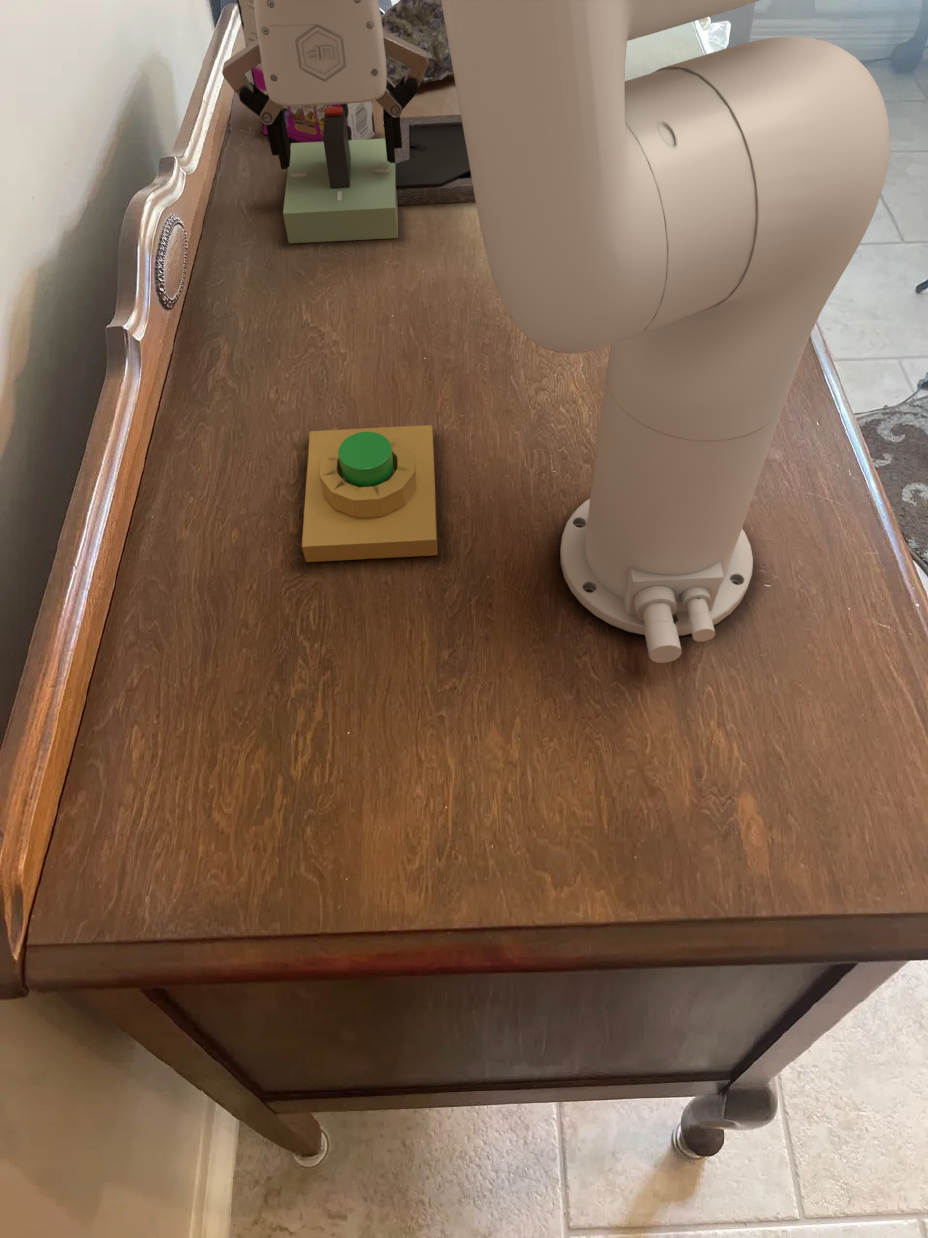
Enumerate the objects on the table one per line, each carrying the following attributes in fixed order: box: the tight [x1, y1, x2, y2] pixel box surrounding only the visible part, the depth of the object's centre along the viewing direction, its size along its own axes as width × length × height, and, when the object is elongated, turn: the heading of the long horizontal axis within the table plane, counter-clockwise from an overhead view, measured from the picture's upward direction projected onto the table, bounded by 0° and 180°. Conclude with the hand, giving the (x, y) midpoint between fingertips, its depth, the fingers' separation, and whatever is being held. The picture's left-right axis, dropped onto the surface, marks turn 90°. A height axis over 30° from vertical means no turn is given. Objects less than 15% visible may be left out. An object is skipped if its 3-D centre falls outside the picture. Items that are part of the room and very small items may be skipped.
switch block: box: [301, 424, 439, 563], centre depth 64 cm, size 11×9×4 cm
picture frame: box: [396, 114, 476, 206], centre depth 90 cm, size 13×2×18 cm
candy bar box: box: [236, 0, 376, 143], centre depth 88 cm, size 11×5×16 cm, turn 62°
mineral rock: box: [381, 0, 454, 86], centre depth 98 cm, size 13×11×10 cm
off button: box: [338, 432, 394, 487], centre depth 62 cm, size 4×4×2 cm
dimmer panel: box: [282, 138, 399, 244], centre depth 86 cm, size 12×10×3 cm
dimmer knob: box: [323, 107, 351, 188], centre depth 83 cm, size 5×2×5 cm, turn 3°
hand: (338, 158), depth 84 cm, fingers open, 9 cm apart
